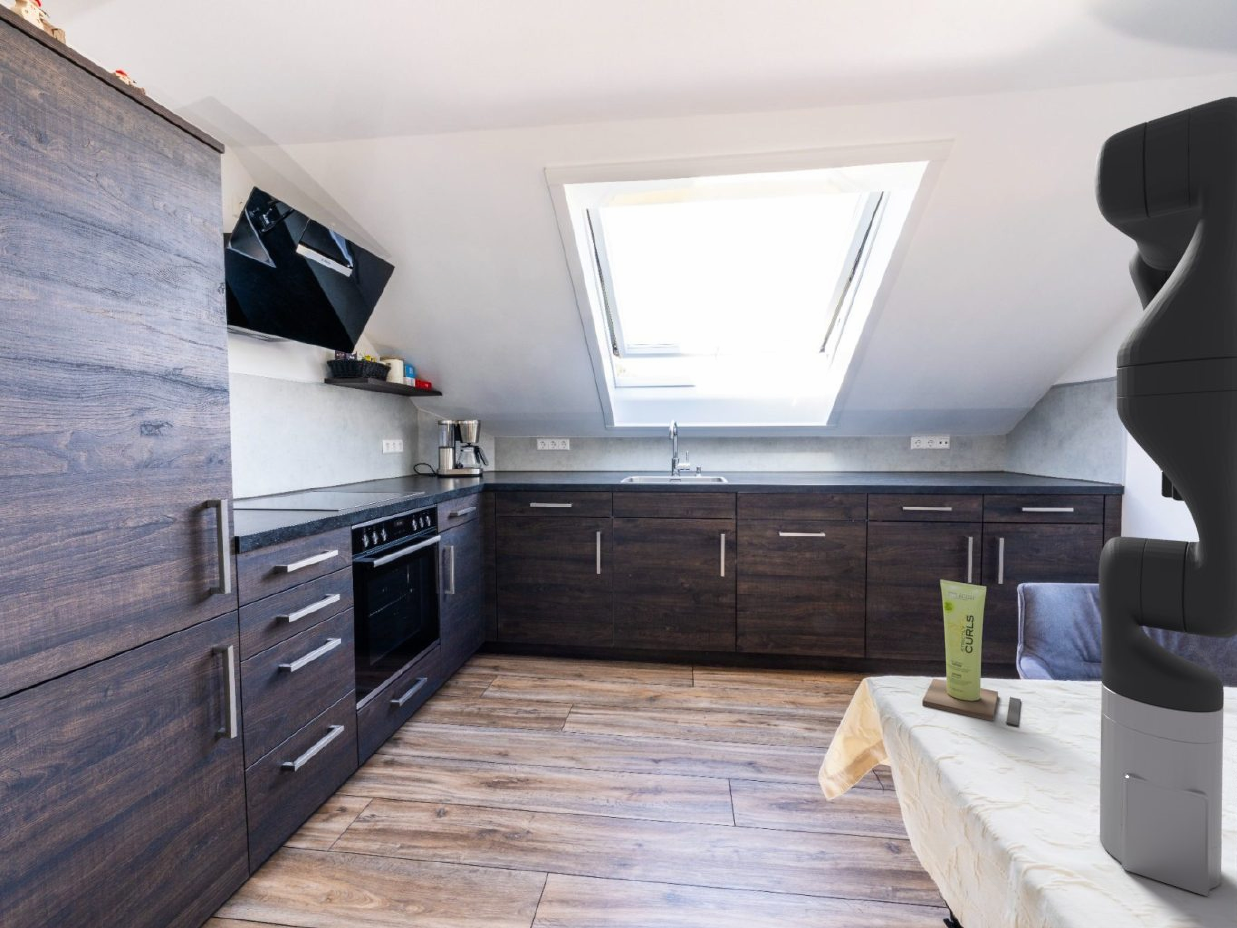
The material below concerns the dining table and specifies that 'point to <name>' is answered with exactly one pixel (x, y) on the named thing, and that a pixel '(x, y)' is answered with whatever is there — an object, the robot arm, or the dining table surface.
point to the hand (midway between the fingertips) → (1177, 499)
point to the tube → (963, 637)
